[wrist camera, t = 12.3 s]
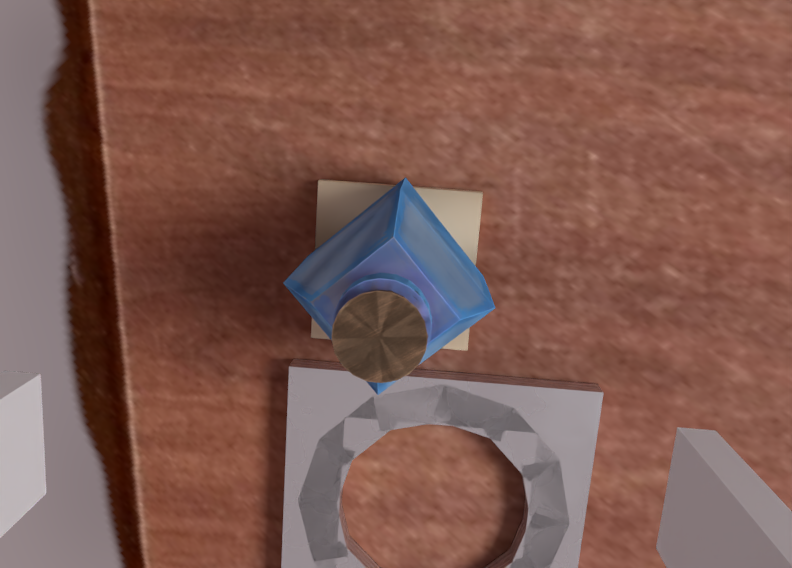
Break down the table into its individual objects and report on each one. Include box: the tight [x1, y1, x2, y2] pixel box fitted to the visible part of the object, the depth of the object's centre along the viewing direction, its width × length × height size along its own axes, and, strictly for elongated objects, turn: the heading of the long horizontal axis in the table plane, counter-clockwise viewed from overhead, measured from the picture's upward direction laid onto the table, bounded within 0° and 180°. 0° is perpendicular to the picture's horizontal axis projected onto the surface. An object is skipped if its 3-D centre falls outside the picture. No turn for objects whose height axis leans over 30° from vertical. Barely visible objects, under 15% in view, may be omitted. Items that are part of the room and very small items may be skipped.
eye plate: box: [281, 359, 603, 568], centre depth 37 cm, size 15×16×1 cm
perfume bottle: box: [283, 177, 495, 395], centre depth 28 cm, size 6×6×12 cm
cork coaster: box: [311, 179, 483, 350], centre depth 35 cm, size 8×8×1 cm
